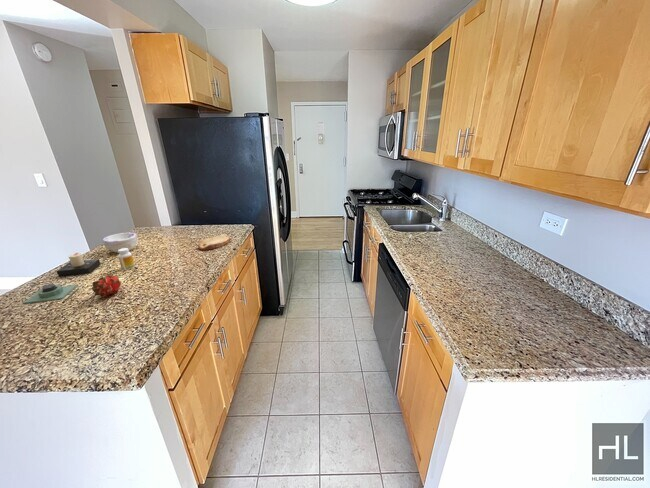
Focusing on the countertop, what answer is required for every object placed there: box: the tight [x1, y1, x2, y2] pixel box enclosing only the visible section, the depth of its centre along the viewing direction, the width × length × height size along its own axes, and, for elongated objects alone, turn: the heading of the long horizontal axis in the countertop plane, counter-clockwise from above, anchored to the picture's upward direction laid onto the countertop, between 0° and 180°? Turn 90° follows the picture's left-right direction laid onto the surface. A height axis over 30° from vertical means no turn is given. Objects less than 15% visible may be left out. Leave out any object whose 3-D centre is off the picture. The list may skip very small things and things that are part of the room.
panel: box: [56, 258, 102, 278], centre depth 123 cm, size 12×10×3 cm
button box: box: [22, 284, 80, 305], centre depth 102 cm, size 12×10×4 cm
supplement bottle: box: [117, 248, 136, 271], centre depth 125 cm, size 5×5×10 cm
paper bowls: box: [102, 232, 139, 254], centre depth 146 cm, size 15×15×8 cm
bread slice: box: [197, 234, 232, 251], centre depth 155 cm, size 18×18×4 cm
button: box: [41, 283, 56, 292], centre depth 101 cm, size 4×4×2 cm
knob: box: [68, 252, 85, 267], centre depth 122 cm, size 4×4×5 cm
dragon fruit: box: [91, 274, 122, 298], centre depth 104 cm, size 8×8×12 cm
